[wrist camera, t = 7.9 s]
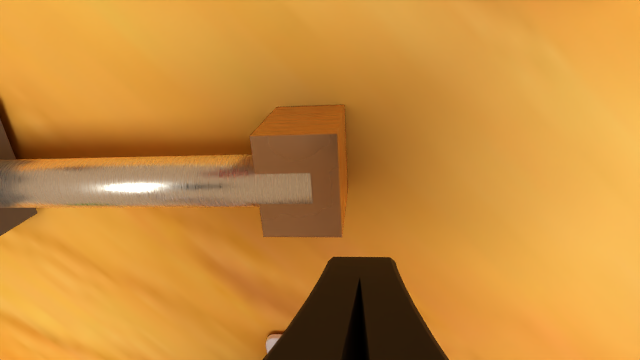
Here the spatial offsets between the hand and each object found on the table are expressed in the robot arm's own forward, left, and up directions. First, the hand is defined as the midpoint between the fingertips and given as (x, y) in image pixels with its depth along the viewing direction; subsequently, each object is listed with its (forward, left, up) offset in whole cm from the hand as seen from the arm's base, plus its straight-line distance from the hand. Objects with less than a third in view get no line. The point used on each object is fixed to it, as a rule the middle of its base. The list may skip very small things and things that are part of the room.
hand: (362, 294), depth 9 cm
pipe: (0, +12, -10) cm, 15 cm away
